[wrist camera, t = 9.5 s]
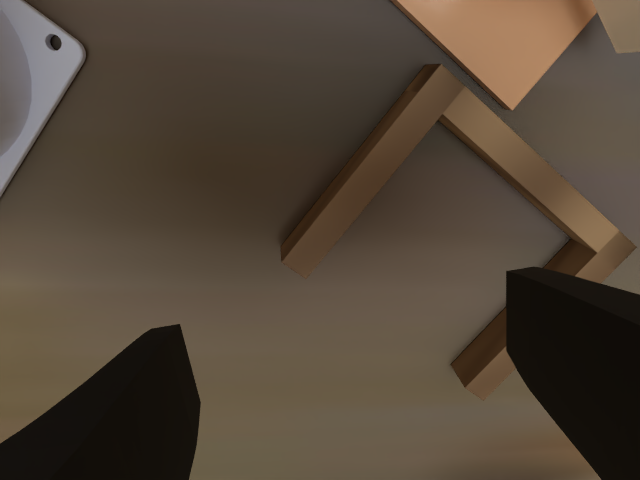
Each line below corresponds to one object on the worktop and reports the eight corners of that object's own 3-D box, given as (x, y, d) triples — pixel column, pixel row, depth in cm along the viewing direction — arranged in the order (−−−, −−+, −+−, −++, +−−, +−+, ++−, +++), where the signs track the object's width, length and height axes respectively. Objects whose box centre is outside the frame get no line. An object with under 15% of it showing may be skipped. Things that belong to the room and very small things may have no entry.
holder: (280, 246, 20) (281, 262, 18) (425, 64, 18) (441, 63, 16) (468, 376, 23) (483, 400, 21) (607, 233, 21) (636, 247, 20)
